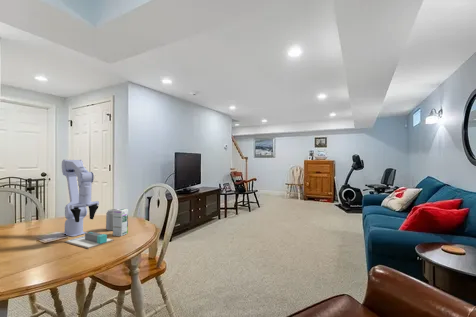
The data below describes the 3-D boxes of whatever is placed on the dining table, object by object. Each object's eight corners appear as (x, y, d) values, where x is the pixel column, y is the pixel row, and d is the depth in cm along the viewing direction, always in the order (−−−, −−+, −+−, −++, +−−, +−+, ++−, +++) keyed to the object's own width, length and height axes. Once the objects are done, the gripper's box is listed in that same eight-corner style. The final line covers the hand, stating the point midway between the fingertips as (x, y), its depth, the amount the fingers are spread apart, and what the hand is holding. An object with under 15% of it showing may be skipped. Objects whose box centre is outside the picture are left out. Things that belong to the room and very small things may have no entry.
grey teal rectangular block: (84, 239, 130) (84, 232, 130) (91, 237, 133) (91, 231, 133) (100, 243, 124) (100, 236, 125) (106, 241, 128) (107, 234, 128)
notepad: (64, 242, 127) (64, 240, 127) (91, 235, 140) (91, 234, 140) (87, 248, 119) (88, 247, 119) (113, 240, 132) (113, 239, 132)
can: (122, 228, 155) (122, 209, 155) (112, 231, 148) (113, 211, 148) (112, 227, 157) (113, 208, 158) (103, 230, 150) (103, 210, 151)
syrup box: (121, 236, 139) (122, 210, 139) (112, 235, 140) (112, 209, 140) (127, 233, 145) (128, 208, 145) (119, 232, 146) (119, 208, 146)
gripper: (75, 196, 124) (75, 224, 123) (102, 193, 137) (102, 218, 136) (67, 195, 127) (66, 222, 126) (94, 193, 140) (94, 217, 139)
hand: (84, 220), depth 132 cm, fingers open, 7 cm apart
